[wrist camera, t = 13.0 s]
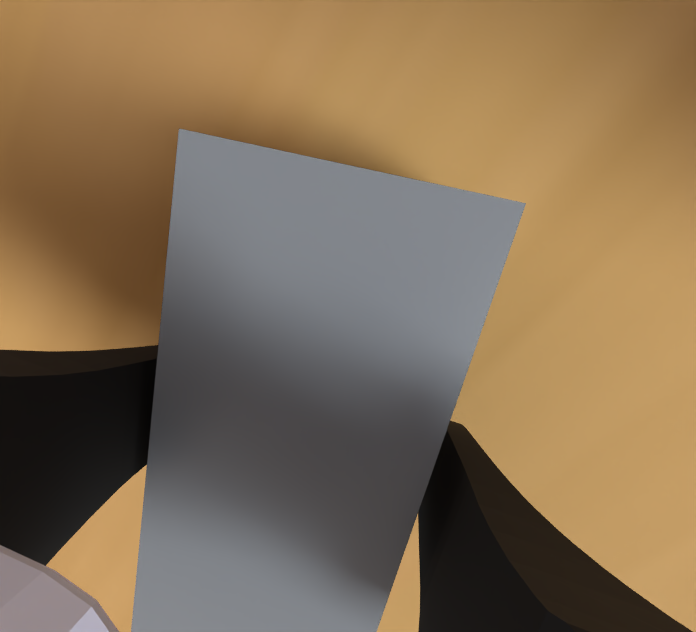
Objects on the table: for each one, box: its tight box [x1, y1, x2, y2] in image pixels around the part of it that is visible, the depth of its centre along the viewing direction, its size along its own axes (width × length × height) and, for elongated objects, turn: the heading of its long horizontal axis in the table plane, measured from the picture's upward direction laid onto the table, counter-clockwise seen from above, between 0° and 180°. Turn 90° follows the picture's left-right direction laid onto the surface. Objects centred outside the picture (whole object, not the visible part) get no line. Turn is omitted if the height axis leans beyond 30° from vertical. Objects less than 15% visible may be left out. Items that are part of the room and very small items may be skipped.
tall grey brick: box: [131, 129, 526, 632], centre depth 10 cm, size 6×13×6 cm, turn 166°
